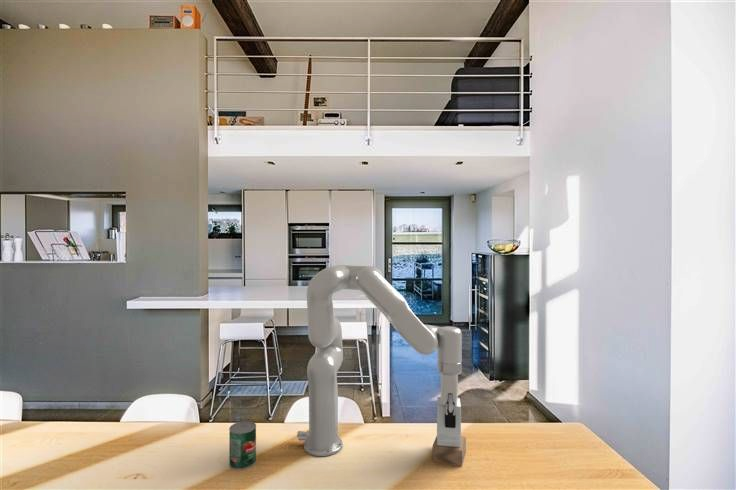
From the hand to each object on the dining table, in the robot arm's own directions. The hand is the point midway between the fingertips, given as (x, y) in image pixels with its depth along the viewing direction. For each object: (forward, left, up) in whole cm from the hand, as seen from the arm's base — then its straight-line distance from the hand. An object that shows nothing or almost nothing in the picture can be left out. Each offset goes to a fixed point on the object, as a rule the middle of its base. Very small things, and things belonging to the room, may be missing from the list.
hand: (449, 420), depth 125 cm
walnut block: (0, 0, -12) cm, 12 cm away
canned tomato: (-63, -14, -11) cm, 66 cm away
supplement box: (0, 0, -7) cm, 7 cm away
